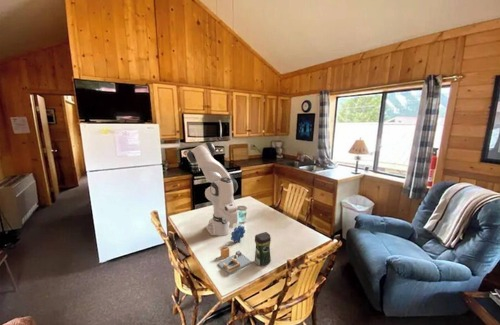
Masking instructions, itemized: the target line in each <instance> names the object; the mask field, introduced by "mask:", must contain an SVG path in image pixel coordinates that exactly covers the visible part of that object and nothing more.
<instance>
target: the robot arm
mask: <svg viewBox="0 0 500 325" xmlns="http://www.w3.org/2000/svg"><path fill="white" fill-rule="evenodd" d="M215 148H216V147H215V145H214V144H213V143H212V142H211V141H207V142H204V143H201V144H200V145H197V146H196V147H194V148H192V149H191V150H188V151H187V152H186V159H187V160H188V162H189V163H190V164H194V165H195V164H197V166H198V167H199V168H200V169H201V171H202V173H203V175H204V177H205V179H206V181H207V182H209V183H211V184H210V186H209V187H207V188H205V191H204V195H205V196H204V197H205V198H206V199H207V200H208V201H209V202H210V203H211V204H212V208H213V213H212V218H210V219H209V221H208V223H207V224H206V225H205V228H206V230H207V231H208V233H209V234H210V235H211V236H218V237H220V236H221V237H222V236H227V235H228V234H230V233H231V230H232V229H233V225H235V224H237V222H238V209H239V208H238V207H239V206H238V205H237V204H236V202H235V198H234V194H235V193H236V192H237V190H238V188H239V185H238V182H237V180H236V179H235V178H234V177H233V176H232V175H231V174H230V173H229V172H228V170H227V169H226V168H225V166H224V165H223V164H222V163H221V162H220V161H219V160H216V159H215V158H214V156H215V153H216V149H215Z"/></svg>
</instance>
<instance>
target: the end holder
mask: <svg viewBox="0 0 500 325" xmlns="http://www.w3.org/2000/svg"><path fill="white" fill-rule="evenodd" d="M232 261H233V263H234V264H235V265H234V266H232V267H231V268H229V267H228V266H227V265H226V264H225V263H223V267H224V268H225V269H226V270H227V271H228V272H229V273H231V272H233V271H234V270H236V269H238V268H240V263H239V262H238V261H237V260H235V259H234V258H232Z"/></svg>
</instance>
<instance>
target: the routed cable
mask: <svg viewBox="0 0 500 325" xmlns="http://www.w3.org/2000/svg"><path fill="white" fill-rule="evenodd" d="M241 253H242V252H241V251H240V250H237V251H236V252H235V254H236V256H235V257H234V255H235V254H234V253H233V254H232V255H231V256H233V258H234V259H235V260H237V258H238V257H239V256H241ZM232 263H233V261H232V258H231V262H230V263H229V265H231V264H232Z"/></svg>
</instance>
